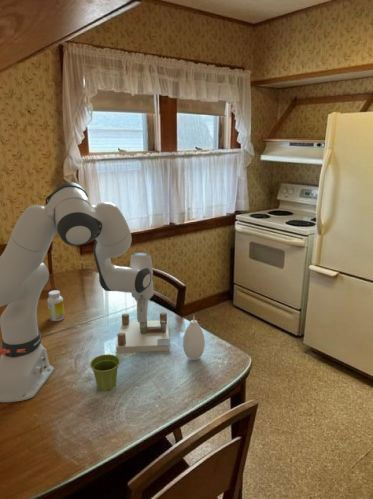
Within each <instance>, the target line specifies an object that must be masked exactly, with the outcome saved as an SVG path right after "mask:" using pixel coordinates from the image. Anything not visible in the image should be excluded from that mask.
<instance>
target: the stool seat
mask: <svg viewBox="0 0 373 499" xmlns="http://www.w3.org/2000/svg"><path fill="white" fill-rule="evenodd" d="M161 321H166V332H149V333H144V334H142V333H140V322H138V321H137V320H130V314H129V313H123V314H121V322H120V325H119V326H120V327H119V332H118V333H117V335H116V337H117V340H116V346H115V348H116V353H117V354H118V353H122V354H123V353H142V352H145V353H146V352H165V351H166V352H167V351H170V346H171V338H170V337H169V336H170V335H169V320H168V315H167V312H165V311H164V312H163V311H162V312H160V313H159V320H147V327H157V326H161Z"/></svg>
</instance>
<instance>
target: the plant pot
mask: <svg viewBox="0 0 373 499" xmlns="http://www.w3.org/2000/svg"><path fill="white" fill-rule="evenodd" d="M120 362H121V360H120V358H119V357H118V356H117V355H114V354H102V355H101V354H100V355H97V356H96V357H94V358H93V359H91V361H90V363H89V366H90V368H91V369H92V372H93V375H94V378H95V384H96V387H97V389H98V390H100V391H110V390H113V389H114V388H115V387H116V385H117V379H118V378H117V376H118V368H119V366H120Z"/></svg>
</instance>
